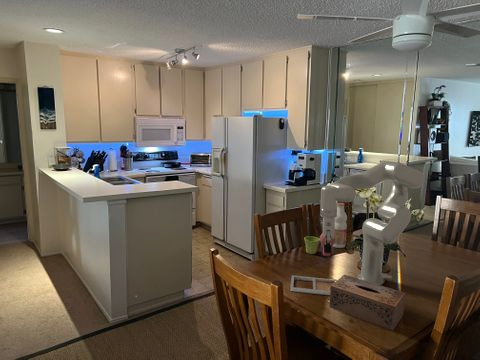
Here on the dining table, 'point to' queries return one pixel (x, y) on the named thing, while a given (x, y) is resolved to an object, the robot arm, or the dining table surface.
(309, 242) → the plant pot
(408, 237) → the dining table surface
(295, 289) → the rail frame
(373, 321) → the tissue box cover
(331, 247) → the light bulb
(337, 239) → the fruit juice
